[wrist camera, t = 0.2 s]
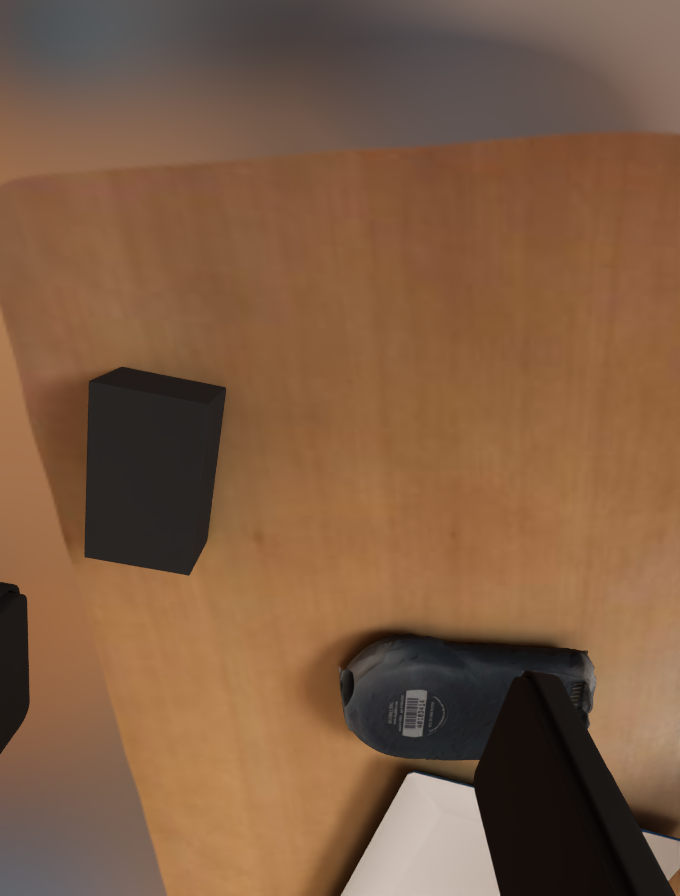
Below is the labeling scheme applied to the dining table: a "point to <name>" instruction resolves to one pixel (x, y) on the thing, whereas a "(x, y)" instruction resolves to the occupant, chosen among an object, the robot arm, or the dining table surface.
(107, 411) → the black rectangular block
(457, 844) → the plate
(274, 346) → the dining table surface
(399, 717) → the electronic device
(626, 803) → the robot arm
